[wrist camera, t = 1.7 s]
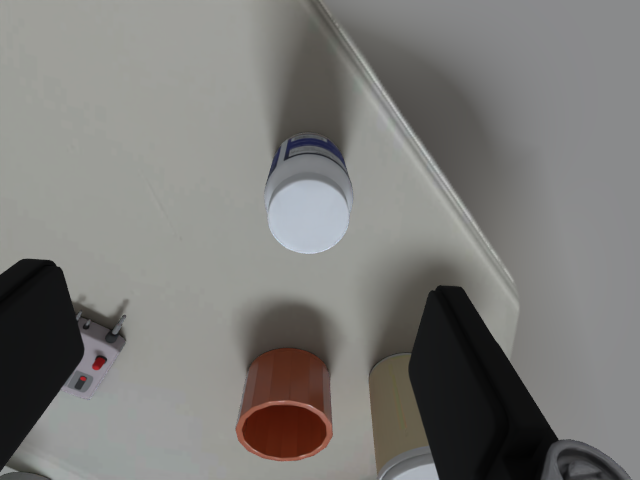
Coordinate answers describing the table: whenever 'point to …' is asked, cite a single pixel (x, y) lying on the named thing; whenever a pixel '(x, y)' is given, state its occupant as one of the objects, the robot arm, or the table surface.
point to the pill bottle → (308, 194)
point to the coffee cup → (398, 423)
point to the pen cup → (285, 406)
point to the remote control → (94, 357)
